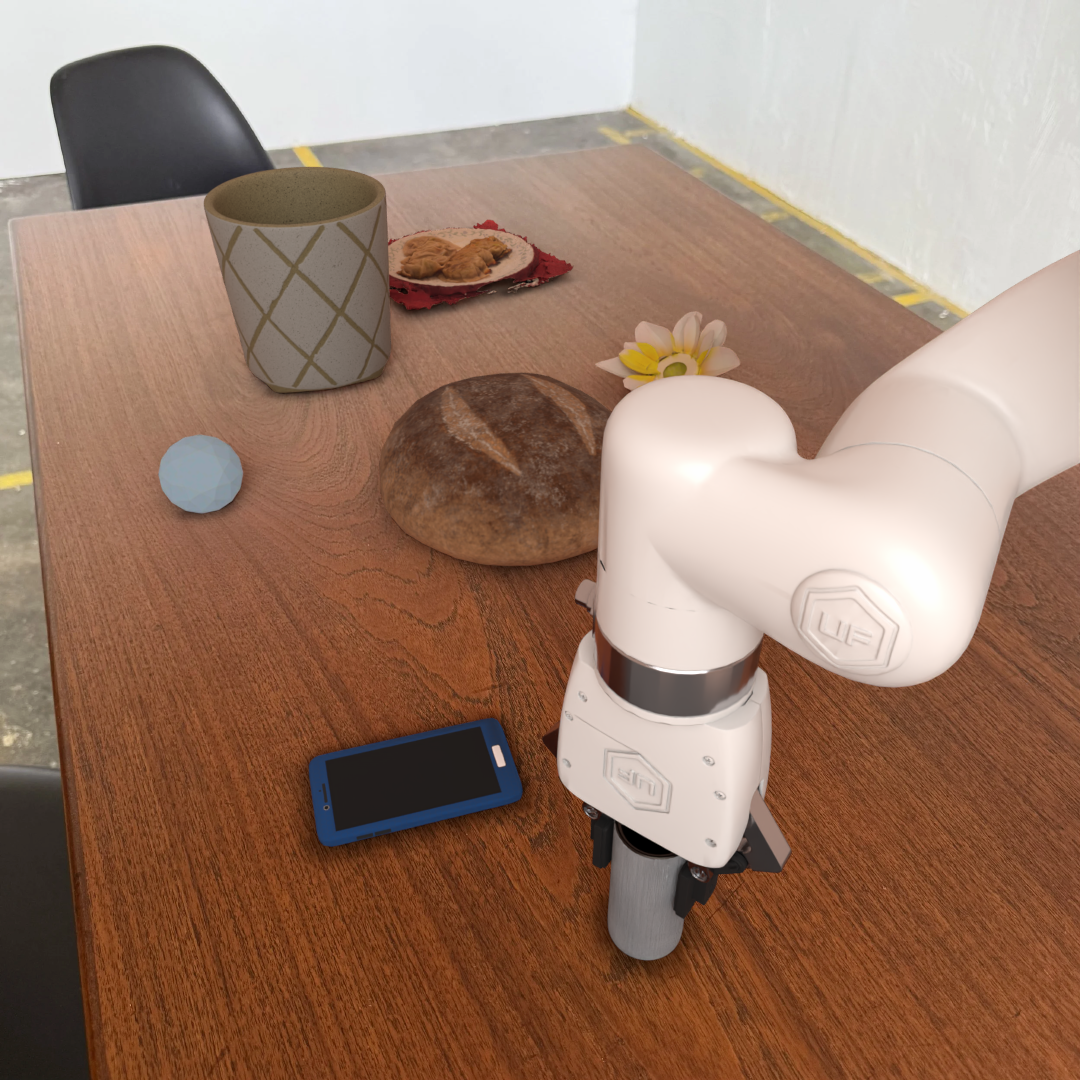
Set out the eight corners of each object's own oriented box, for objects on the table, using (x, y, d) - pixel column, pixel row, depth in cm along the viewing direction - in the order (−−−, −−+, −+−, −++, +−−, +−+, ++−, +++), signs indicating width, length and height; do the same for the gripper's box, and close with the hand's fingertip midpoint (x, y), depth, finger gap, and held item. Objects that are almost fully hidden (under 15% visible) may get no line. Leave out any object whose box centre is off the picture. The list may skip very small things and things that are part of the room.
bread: (439, 615, 81) (431, 521, 74) (348, 455, 99) (335, 370, 93) (703, 534, 89) (715, 444, 83) (573, 402, 108) (575, 320, 102)
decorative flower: (576, 364, 111) (600, 283, 106) (654, 364, 117) (681, 287, 111) (642, 434, 102) (673, 349, 96) (724, 431, 107) (758, 350, 102)
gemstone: (161, 443, 95) (155, 432, 90) (243, 442, 97) (241, 431, 92) (164, 520, 94) (158, 513, 90) (246, 518, 96) (244, 510, 92)
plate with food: (575, 280, 135) (576, 256, 133) (410, 317, 124) (408, 292, 122) (491, 229, 151) (490, 207, 149) (337, 258, 140) (334, 235, 138)
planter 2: (671, 972, 56) (687, 869, 50) (597, 947, 58) (603, 843, 51) (689, 905, 60) (706, 801, 53) (619, 883, 61) (627, 779, 55)
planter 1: (417, 386, 111) (403, 214, 98) (247, 414, 106) (210, 236, 93) (382, 317, 125) (366, 159, 113) (231, 339, 120) (197, 175, 108)
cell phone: (526, 800, 66) (526, 793, 65) (319, 850, 63) (318, 844, 62) (498, 721, 71) (498, 714, 71) (307, 764, 68) (306, 757, 68)
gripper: (479, 615, 46) (493, 845, 57) (820, 784, 38) (757, 1012, 49) (569, 536, 50) (565, 762, 62) (887, 670, 43) (816, 902, 54)
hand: (650, 871), depth 55 cm, fingers closed on planter 2, 4 cm apart
